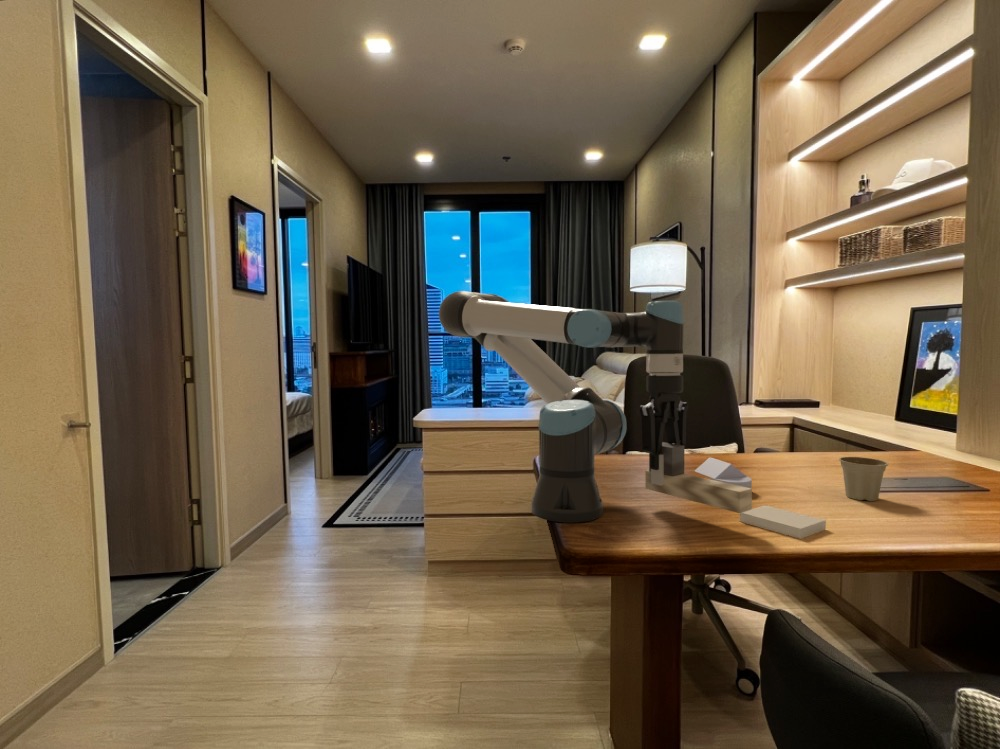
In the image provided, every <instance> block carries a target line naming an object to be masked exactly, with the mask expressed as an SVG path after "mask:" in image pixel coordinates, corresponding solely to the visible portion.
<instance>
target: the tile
mask: <svg viewBox="0 0 1000 749" xmlns="http://www.w3.org/2000/svg"><path fill="white" fill-rule="evenodd" d="M739 522H740V523H743V524H747V525H751V526H755V527H758V528H761V529H765V530H768V531H772V532H775V533H778V534H781V533H782V534H781V535H786V536H788V535H789V537H792V538H796V539H799V540H801V539H804V538H807V537H809V536H812V535H815V534H818V533H821V532H823V531H825V529H827V528H826V526H827V521H826V519H822V518H818V517H814V516H810V515H807V514H803V513H799V512H795V511H794V512H793V511H790V510H788V509H787V510H786V509H782V508H779V507H774V506H771V505H766V504H765V505H762V506H761V505H760V506H758V507H754V508H752V510H749V511H745V512H742V513H739Z"/></svg>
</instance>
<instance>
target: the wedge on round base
mask: <svg viewBox="0 0 1000 749" xmlns="http://www.w3.org/2000/svg"><path fill="white" fill-rule="evenodd" d="M694 472H696V473H697V474H701V475H703V476H705V477H708V478H710V480H715V481H719V482H724V483H728V484H733V485H738V486H742V487H747V488H751V489H752V478H751V477H749V476H747V475H746V474H744V472H742V471H741V470H740V469H738V468H737V467H736V466H735V465H733V464H732V463H730V462H726V461H723V460H720V459H717V458H713V457H708V458H707V459H706V460H705V461H703V462H702V464H700V465H698V467H697V468H696V469H695V470H694Z"/></svg>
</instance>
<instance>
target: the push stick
mask: <svg viewBox="0 0 1000 749" xmlns="http://www.w3.org/2000/svg"><path fill="white" fill-rule="evenodd" d="M655 448H656V447H655ZM685 448H686V446H683V445H677V444H671V443H667V442H664V441H662V448H661V454H662V455H664V485H663V486H660V485H656V484H652V483H651V469H650V454H649V453H648V462H649V463H648V466H649V468H648V469H646V470H645V490H649V491H653V492H657V493H661V494H666V495H669V496H671V497H676V498H679V499H680V498H681V499H684V500H687V501H691V502H696V503H699V504H702V505H707V506H709V507H714V508H718V509H721V510H726V511H730V512H734V513H737V514H740V513H742V512H745V511H749V510H752V509H753V508H752V507H753V504H752V503H753V500H752V498H753V488H752V487H751V488H747V487H742V486H738V485H733V484H728V483H724V482H719V481H715V480H711V478H710V479H709V478H705V477H700V476H696V475H691V474H686V473H685Z"/></svg>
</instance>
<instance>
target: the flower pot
mask: <svg viewBox="0 0 1000 749" xmlns="http://www.w3.org/2000/svg"><path fill="white" fill-rule="evenodd" d="M838 461H839V462H840V466H841V467H842V475H843V482H844V490H845V495H846V497H848V498H850V499H853V500H857V501H864V500H866V501H868V502H874V501H877V500H879V495H880V491H881V486H882V482H883V476H884V473H885V471H886V469H887V467H888V466H889V463H888V462H887V461H885V460H880V459H878V458H877V459H876V458H870V457H862V456H841V457H839V458H838Z"/></svg>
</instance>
